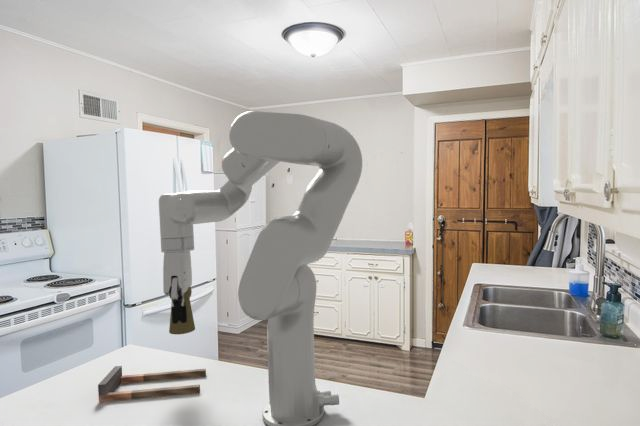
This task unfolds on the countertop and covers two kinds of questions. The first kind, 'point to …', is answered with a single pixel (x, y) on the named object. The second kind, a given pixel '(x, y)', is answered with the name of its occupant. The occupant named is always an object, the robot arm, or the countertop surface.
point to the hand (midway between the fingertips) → (181, 319)
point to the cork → (189, 325)
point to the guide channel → (115, 379)
